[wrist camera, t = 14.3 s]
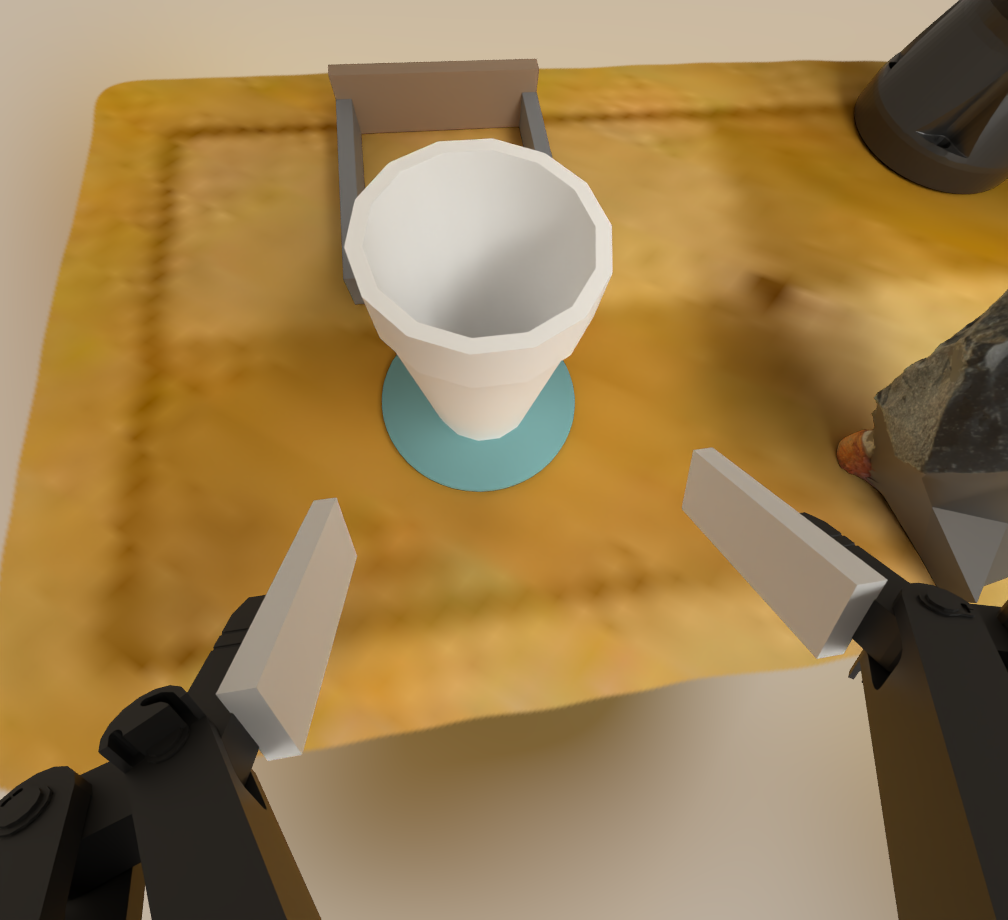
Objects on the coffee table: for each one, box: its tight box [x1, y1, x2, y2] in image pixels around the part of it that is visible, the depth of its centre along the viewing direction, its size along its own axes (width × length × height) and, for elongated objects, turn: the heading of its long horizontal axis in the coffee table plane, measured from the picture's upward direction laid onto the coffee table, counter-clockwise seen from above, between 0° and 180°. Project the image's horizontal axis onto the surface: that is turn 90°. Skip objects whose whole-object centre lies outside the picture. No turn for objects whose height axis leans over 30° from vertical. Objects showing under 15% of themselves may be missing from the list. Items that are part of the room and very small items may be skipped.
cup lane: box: [328, 59, 552, 304], centre depth 29 cm, size 16×18×4 cm
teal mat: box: [382, 355, 575, 492], centre depth 26 cm, size 13×13×1 cm
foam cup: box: [344, 138, 612, 441], centre depth 20 cm, size 10×9×13 cm
